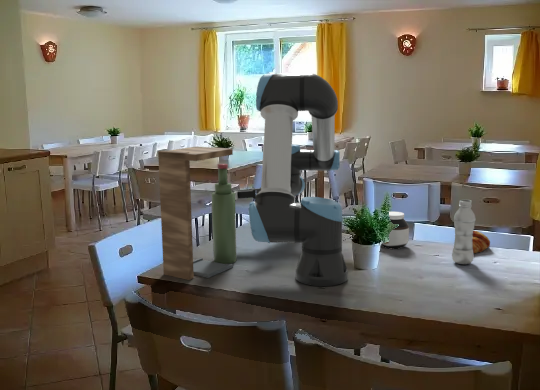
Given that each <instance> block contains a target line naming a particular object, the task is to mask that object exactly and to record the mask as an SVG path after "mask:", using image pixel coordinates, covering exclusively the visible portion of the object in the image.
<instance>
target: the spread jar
mask: <svg viewBox="0 0 540 390" xmlns="http://www.w3.org/2000/svg"><path fill="white" fill-rule="evenodd" d="M388 212H389V217H390V220H391V222H392V223H393V224H399V226H398V227H397V228H395V229H393V230H392V231H391V232H390V234H389V239H390V241H389V242H386V243H382V244H380V245H381V246H382V247H384V248H385V247H386V248H385V249H389V248H392V249H391V250H399V249H398V248H400V249H402V248H404V247H406V245H408V244H409V239H410V227H409V223H408V222H407V221H406V219H405V213H404V212H401V211H388Z"/></svg>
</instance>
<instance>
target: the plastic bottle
mask: <svg viewBox="0 0 540 390" xmlns="http://www.w3.org/2000/svg"><path fill="white" fill-rule="evenodd" d="M472 201H473V200H470V199H459V201H458V202H459V203H458V206H459V207H458V209H457V210H456V212H455V214H454V215H453V216H454V217H453V222H454V223H453V225H454V243H453V248H452V253H451V257H452V260H453V262H454V263H455V264H459V265H470V264H471V263H472V262H473V261H474V254H475V253H473V243H472V238H473V236H472V235H473V231H474V230H475V223H476V214H475V213H474V211H473V209H471V208H472V206H473V205H472Z"/></svg>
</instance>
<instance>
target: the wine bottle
mask: <svg viewBox="0 0 540 390" xmlns="http://www.w3.org/2000/svg"><path fill="white" fill-rule="evenodd" d="M216 165H217V169H218V170H217V171H218V172H217V176H218V177H217V178H218V182H216V183H214V191H213V192H211V218H212V219H211V220H212V224H211V225H212V251H213V252H212V253H213V257H212V259H213V262H216V263H222V264H227V265H228V264H233V263H236V262H237V258H238V257H237V232H236V231H237V221H236V220H237V219H236V218H237V217H236V216H237V215H236V214H237V213H236V201H235V192H232V190H233V189H232V182H228V168H229V165H228V163H217V164H216Z"/></svg>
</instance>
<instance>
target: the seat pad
mask: <svg viewBox="0 0 540 390" xmlns="http://www.w3.org/2000/svg"><path fill="white" fill-rule="evenodd" d="M233 267H234V264H233V263H229V264H222V263H216V262H214V261H209V260H207V259H206V260H205V259H203V258H202V257H199V258H197V259H193V272H194V276H198V277H203V278H209V279H210V278H211V277H214V276H216V275H219V274H221V273H223V272H225V271H227V270H229V269H232V268H233Z"/></svg>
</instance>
